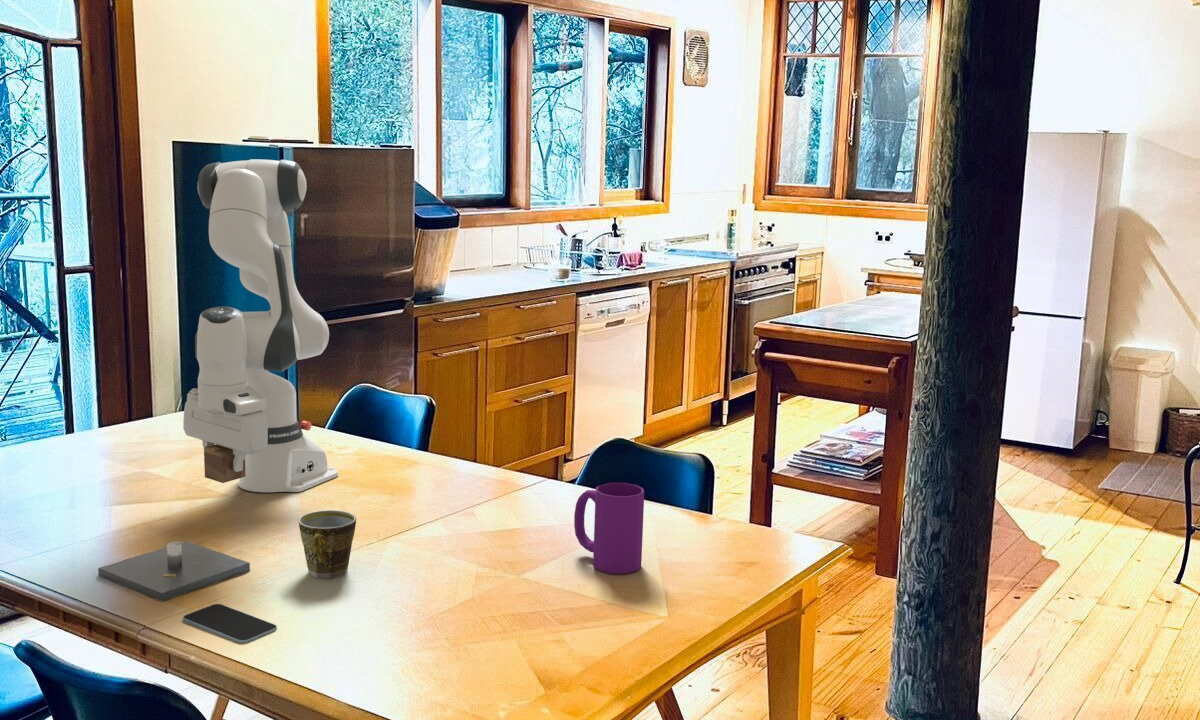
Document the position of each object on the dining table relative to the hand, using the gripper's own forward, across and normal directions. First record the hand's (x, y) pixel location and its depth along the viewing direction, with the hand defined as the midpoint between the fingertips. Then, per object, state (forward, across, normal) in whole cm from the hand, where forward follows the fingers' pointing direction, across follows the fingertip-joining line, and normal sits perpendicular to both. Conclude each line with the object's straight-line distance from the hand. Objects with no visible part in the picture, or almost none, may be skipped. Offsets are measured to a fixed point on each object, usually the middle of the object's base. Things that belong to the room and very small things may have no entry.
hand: (225, 467), depth 216 cm
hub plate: (+15, +6, -16) cm, 22 cm away
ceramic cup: (+15, +27, 0) cm, 30 cm away
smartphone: (+15, +31, -24) cm, 41 cm away
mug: (+15, +62, +37) cm, 74 cm away
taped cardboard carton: (+2, 0, 0) cm, 2 cm away
